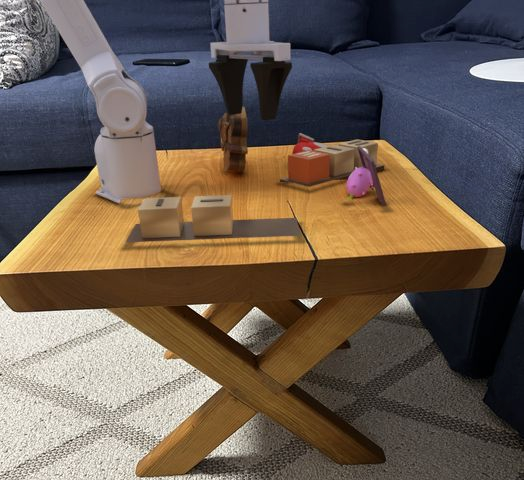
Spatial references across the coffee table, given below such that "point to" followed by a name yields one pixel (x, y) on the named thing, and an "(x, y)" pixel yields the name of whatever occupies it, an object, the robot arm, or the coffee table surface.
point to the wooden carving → (234, 140)
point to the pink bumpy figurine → (364, 178)
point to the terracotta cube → (308, 166)
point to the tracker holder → (306, 144)
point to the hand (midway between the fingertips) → (251, 116)
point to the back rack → (344, 160)
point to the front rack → (202, 221)
